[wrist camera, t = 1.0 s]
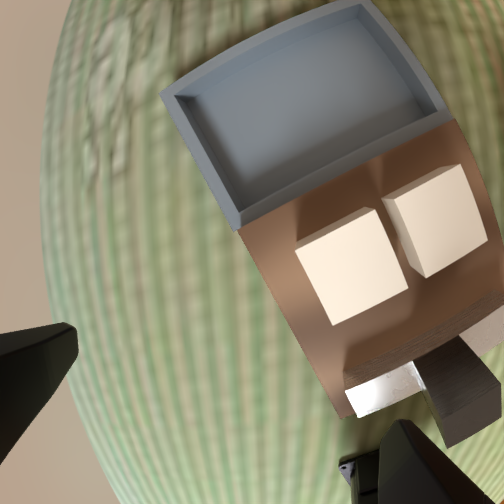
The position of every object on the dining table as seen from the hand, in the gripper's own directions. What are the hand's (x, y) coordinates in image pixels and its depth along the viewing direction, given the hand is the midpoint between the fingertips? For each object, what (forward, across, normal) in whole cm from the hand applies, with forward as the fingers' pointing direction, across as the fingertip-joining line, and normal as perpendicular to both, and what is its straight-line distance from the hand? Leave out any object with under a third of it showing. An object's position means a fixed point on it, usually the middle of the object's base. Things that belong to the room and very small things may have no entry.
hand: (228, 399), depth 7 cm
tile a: (+10, -8, -5) cm, 13 cm away
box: (+14, 0, -10) cm, 17 cm away
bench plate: (+13, -8, -1) cm, 15 cm away
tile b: (+10, -4, -2) cm, 11 cm away
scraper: (+9, -11, +2) cm, 14 cm away
